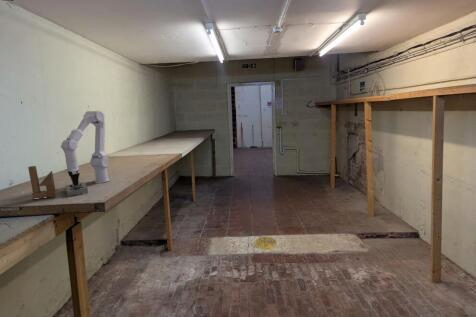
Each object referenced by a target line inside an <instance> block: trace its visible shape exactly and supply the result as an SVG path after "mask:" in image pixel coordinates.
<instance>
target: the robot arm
mask: <svg viewBox="0 0 476 317" xmlns="http://www.w3.org/2000/svg"><path fill="white" fill-rule="evenodd" d="M82 117H83V118H82V120H81V121H80V123H79V124H78V126H77V128H75V129H73V130H71V131H70V133H69V135H68V136H67V137H66V139H65V140H63V141H62V142H61V145H60V148H61V149H62V150H63V153H64V156H65V157H64V158H65V163H66V164H65V165H66V168H65V169H64V170H65V172H67V173H68V176H69V177H70V180H71V179H72V182H73V185H74V186H76V185H78V179H79V180H80V174H81V173H80V172H79V168H80V167H79V163H78V158H77V157H78V156H77V152H76V149H77V148H78V144H79V141H80V140H81V138H83V132H84V131H85V130H86V129H87V127H88V126H89V125H90V124H91V125H93V126H94V127H95V130H94V131H95V134H94V152H93V153H92V154H91V158H90V162H89V163H90V166H92V168H93V170H94V177H95V179H94V180H93V181H94V182H95V184H102V183H106V182H110V181H111V180H110V179H109V176H108V169H107V167H108V166H109V156H108V154H106V153H105V141H106V140H105V137H106V135H105V134H106V123H105V114H104V113H103V111H101V110H87V111H85V113H84V114H83V116H82ZM72 182H71V183H72Z"/></svg>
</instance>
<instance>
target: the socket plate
mask: <svg viewBox="0 0 476 317" xmlns="http://www.w3.org/2000/svg"><path fill="white" fill-rule="evenodd" d="M65 191H66V194H67V197H68V196H71V197H74V196H73V195H76V196H80V195H79V194H81V195H84V194H83V193H87V194H89V190H88V187H87V185H86V183H85V182H84V181H83V182H80V186H77V187H72V183H71V184H65Z"/></svg>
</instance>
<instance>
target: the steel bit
mask: <svg viewBox="0 0 476 317" xmlns="http://www.w3.org/2000/svg"><path fill="white" fill-rule="evenodd" d="M70 180H71V181H70V183H71V184H72V187H77V186H80V183H81V181H80V178H79V179H78V185H76V186H74V185H73V182H72V179H71V178H70Z"/></svg>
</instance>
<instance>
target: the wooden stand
mask: <svg viewBox="0 0 476 317" xmlns="http://www.w3.org/2000/svg"><path fill="white" fill-rule="evenodd" d="M27 169H28V175H29V178H30V179H29V180H30V184H31V189H32V190H31V191H32V193H31V196H32V200H33V199H34V198H44V197H53V198H56V197H57V192H56V191H57V190H56V185H55V181H54V174H53V170H51V171H50V172H49V173H47V175H46V177H44V179H43V180H42V181H41V182H40V180H39V176H38V175H39V174H38V170H37V166H36V165H30V166H28V167H27ZM41 187H45V189H46V190H41Z"/></svg>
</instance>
